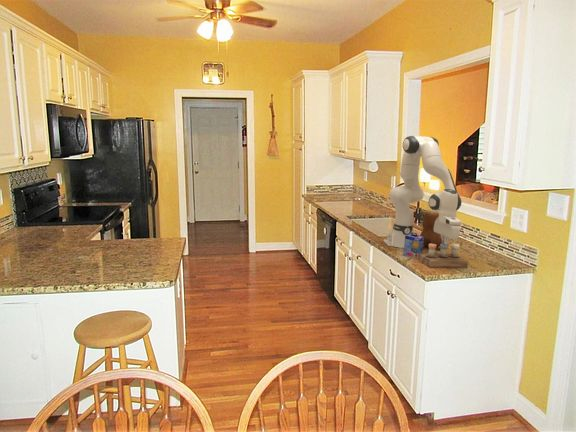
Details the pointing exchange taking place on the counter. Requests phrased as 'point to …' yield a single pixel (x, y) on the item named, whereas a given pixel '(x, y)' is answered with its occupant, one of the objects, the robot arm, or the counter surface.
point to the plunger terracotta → (432, 250)
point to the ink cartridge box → (413, 245)
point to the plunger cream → (454, 250)
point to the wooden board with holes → (442, 261)
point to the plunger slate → (443, 250)
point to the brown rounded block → (430, 229)
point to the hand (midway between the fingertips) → (444, 243)
